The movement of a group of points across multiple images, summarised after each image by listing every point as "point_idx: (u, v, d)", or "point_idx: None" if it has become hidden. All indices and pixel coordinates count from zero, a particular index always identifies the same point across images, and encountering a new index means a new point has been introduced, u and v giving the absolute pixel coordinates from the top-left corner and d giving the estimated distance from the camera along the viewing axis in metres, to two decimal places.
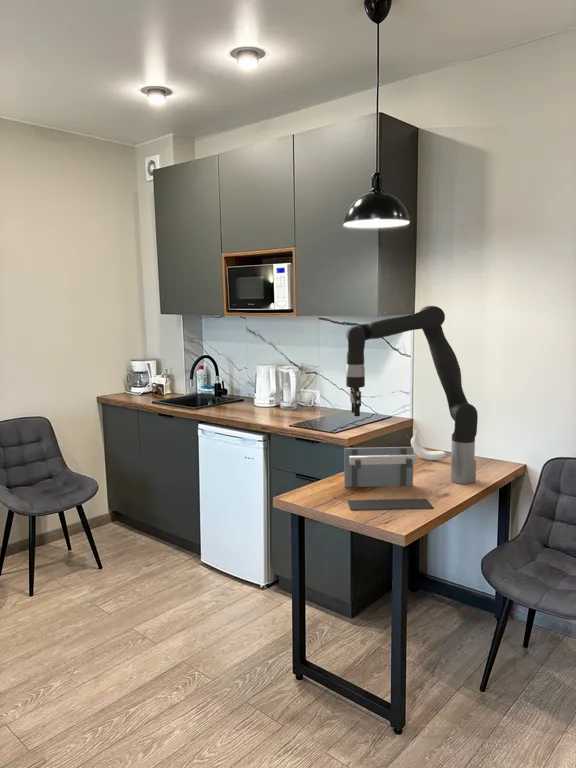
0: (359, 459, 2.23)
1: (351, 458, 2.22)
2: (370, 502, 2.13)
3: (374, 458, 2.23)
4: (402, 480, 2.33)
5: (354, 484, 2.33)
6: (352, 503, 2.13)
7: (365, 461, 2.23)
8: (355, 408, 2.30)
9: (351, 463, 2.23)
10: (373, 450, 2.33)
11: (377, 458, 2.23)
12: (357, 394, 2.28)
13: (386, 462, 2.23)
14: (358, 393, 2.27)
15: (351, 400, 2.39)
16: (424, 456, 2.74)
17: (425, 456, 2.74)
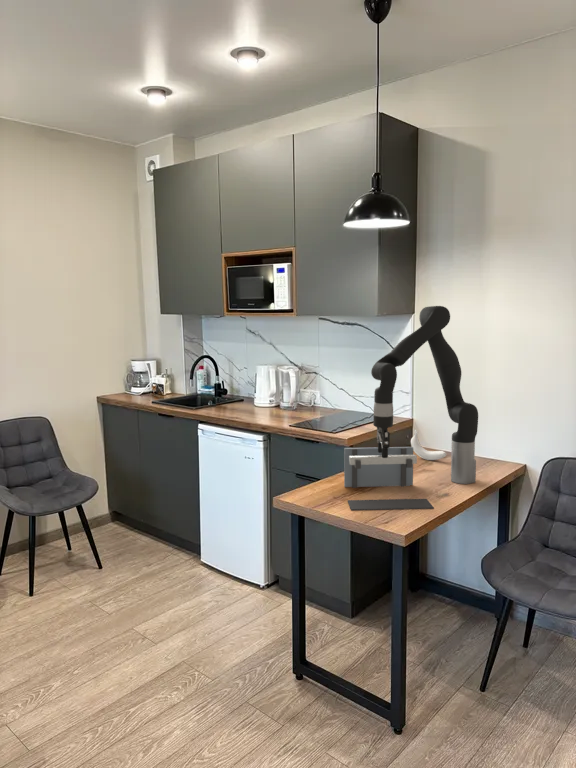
0: (359, 459, 2.23)
1: (351, 458, 2.22)
2: (370, 502, 2.13)
3: (374, 458, 2.23)
4: (402, 480, 2.33)
5: (354, 484, 2.33)
6: (352, 503, 2.13)
7: (365, 461, 2.23)
8: (383, 449, 2.18)
9: (351, 463, 2.23)
10: (373, 450, 2.33)
11: (377, 458, 2.23)
12: (385, 435, 2.16)
13: (386, 462, 2.23)
14: (387, 434, 2.16)
15: (378, 439, 2.27)
16: (424, 456, 2.74)
17: (425, 456, 2.74)
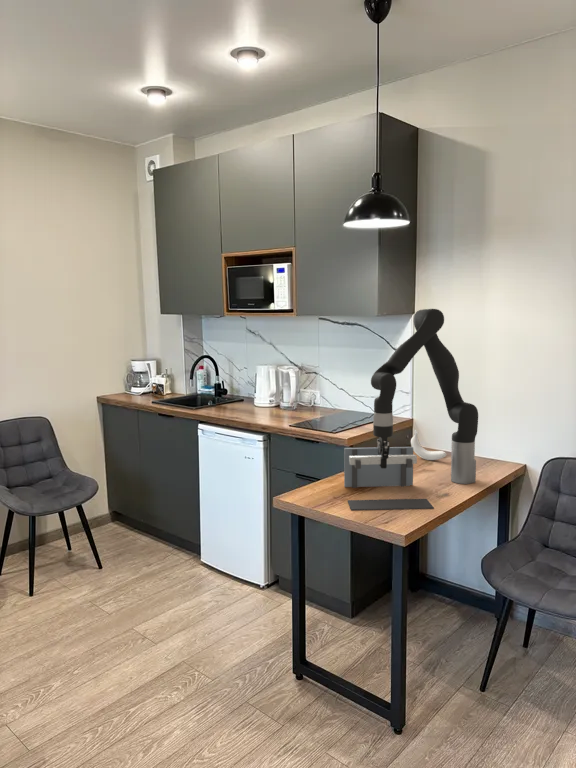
0: (359, 459, 2.23)
1: (351, 458, 2.22)
2: (370, 502, 2.13)
3: (374, 458, 2.23)
4: (402, 480, 2.33)
5: (354, 484, 2.33)
6: (352, 503, 2.13)
7: (365, 461, 2.23)
8: (382, 460, 2.22)
9: (351, 463, 2.23)
10: (373, 450, 2.33)
11: (377, 458, 2.23)
12: (385, 450, 2.17)
13: None
14: (386, 448, 2.17)
15: (379, 452, 2.25)
16: (424, 456, 2.74)
17: (425, 456, 2.74)
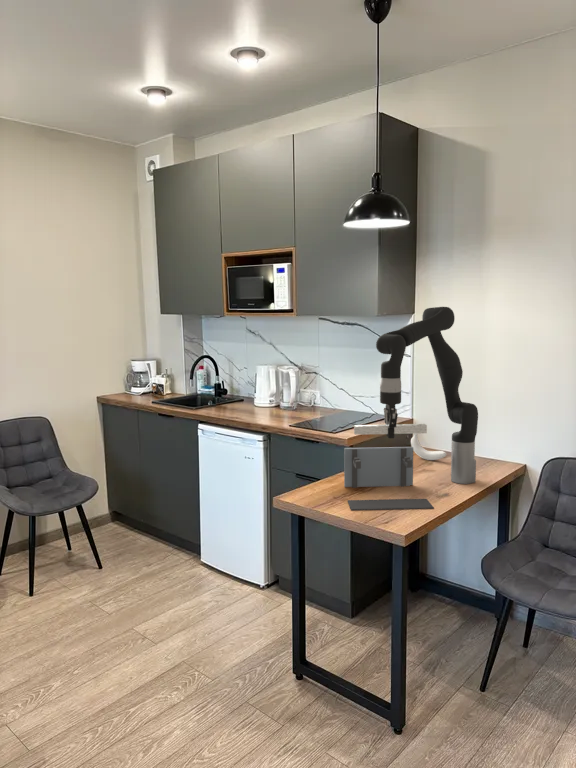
0: (365, 428, 2.07)
1: (356, 427, 2.07)
2: (370, 502, 2.13)
3: (381, 427, 2.07)
4: (402, 480, 2.33)
5: (354, 484, 2.33)
6: (352, 503, 2.13)
7: (371, 430, 2.07)
8: (389, 429, 2.06)
9: (356, 433, 2.07)
10: (373, 450, 2.33)
11: (384, 427, 2.07)
12: (392, 417, 2.02)
13: (394, 432, 2.07)
14: (394, 416, 2.01)
15: (386, 421, 2.09)
16: (424, 456, 2.74)
17: (425, 456, 2.74)
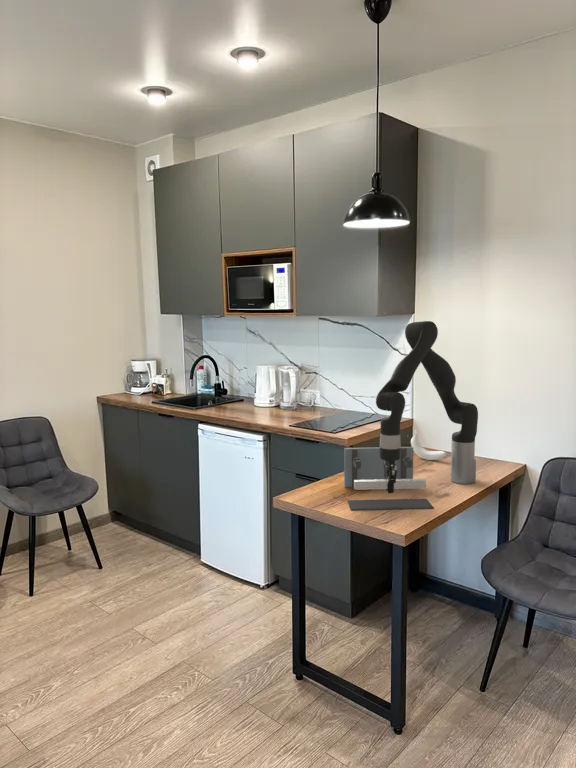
0: (364, 483, 2.09)
1: (356, 482, 2.09)
2: (370, 502, 2.13)
3: (380, 482, 2.09)
4: None
5: None
6: (352, 503, 2.13)
7: (371, 485, 2.09)
8: (389, 485, 2.09)
9: (356, 488, 2.09)
10: (373, 450, 2.33)
11: (383, 482, 2.09)
12: (392, 474, 2.04)
13: None
14: (394, 473, 2.04)
15: (385, 476, 2.12)
16: (424, 456, 2.74)
17: (425, 456, 2.74)
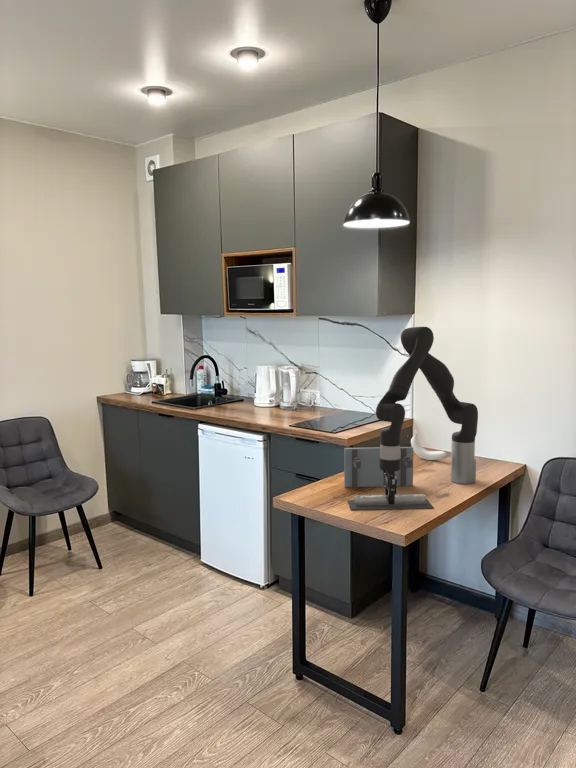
0: (364, 499, 2.10)
1: (356, 498, 2.10)
2: None
3: (380, 498, 2.10)
4: (402, 480, 2.33)
5: (354, 484, 2.33)
6: (352, 503, 2.13)
7: (371, 501, 2.10)
8: (389, 495, 2.07)
9: (356, 504, 2.10)
10: (373, 450, 2.33)
11: (383, 498, 2.10)
12: (392, 483, 2.04)
13: None
14: (394, 481, 2.04)
15: (385, 484, 2.14)
16: (424, 456, 2.74)
17: (425, 456, 2.74)
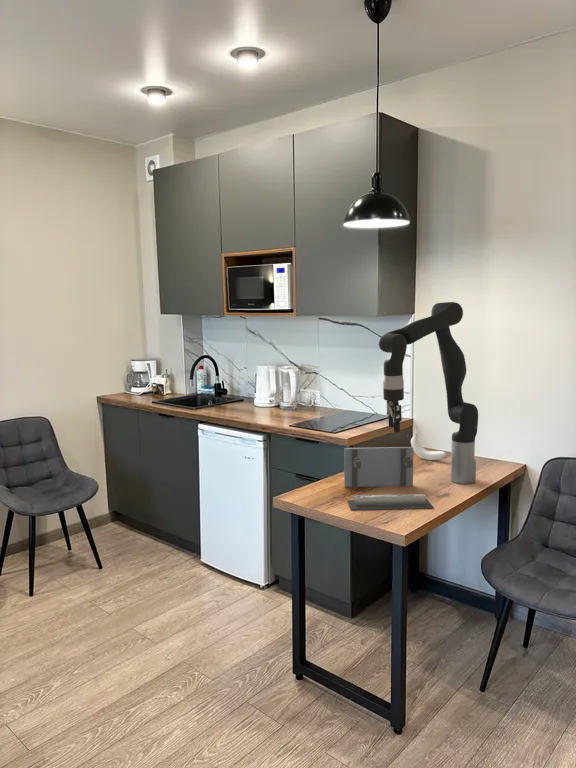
0: (364, 499, 2.10)
1: (356, 498, 2.10)
2: None
3: (380, 498, 2.10)
4: (402, 480, 2.33)
5: (354, 484, 2.33)
6: (352, 503, 2.13)
7: (371, 501, 2.10)
8: (395, 423, 2.12)
9: (356, 504, 2.10)
10: (373, 450, 2.33)
11: (383, 498, 2.10)
12: (397, 409, 2.09)
13: (393, 502, 2.10)
14: (398, 407, 2.09)
15: (388, 414, 2.20)
16: (424, 456, 2.74)
17: (425, 456, 2.74)
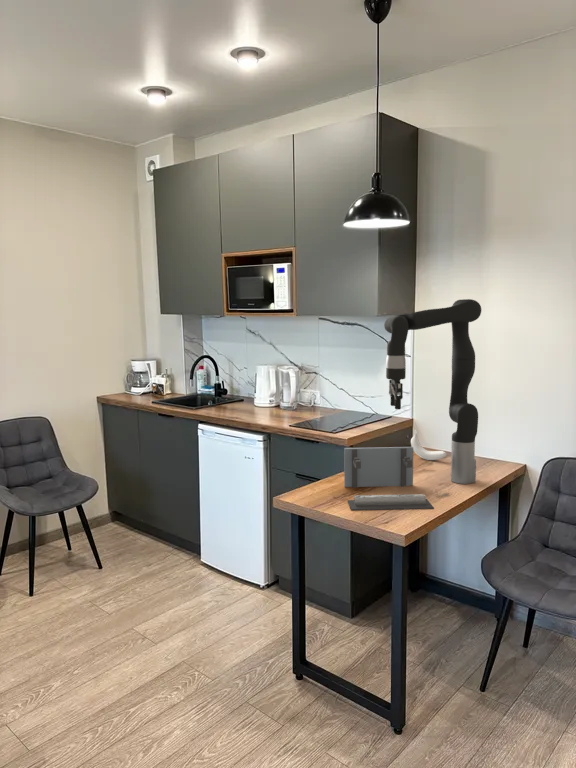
0: (364, 499, 2.10)
1: (356, 498, 2.10)
2: None
3: (380, 498, 2.10)
4: (402, 480, 2.33)
5: (354, 484, 2.33)
6: (352, 503, 2.13)
7: (371, 501, 2.10)
8: (396, 401, 2.22)
9: (356, 504, 2.10)
10: (373, 450, 2.33)
11: (383, 498, 2.10)
12: (398, 386, 2.20)
13: (393, 502, 2.10)
14: (400, 385, 2.20)
15: (390, 393, 2.31)
16: (424, 456, 2.74)
17: (425, 456, 2.74)
